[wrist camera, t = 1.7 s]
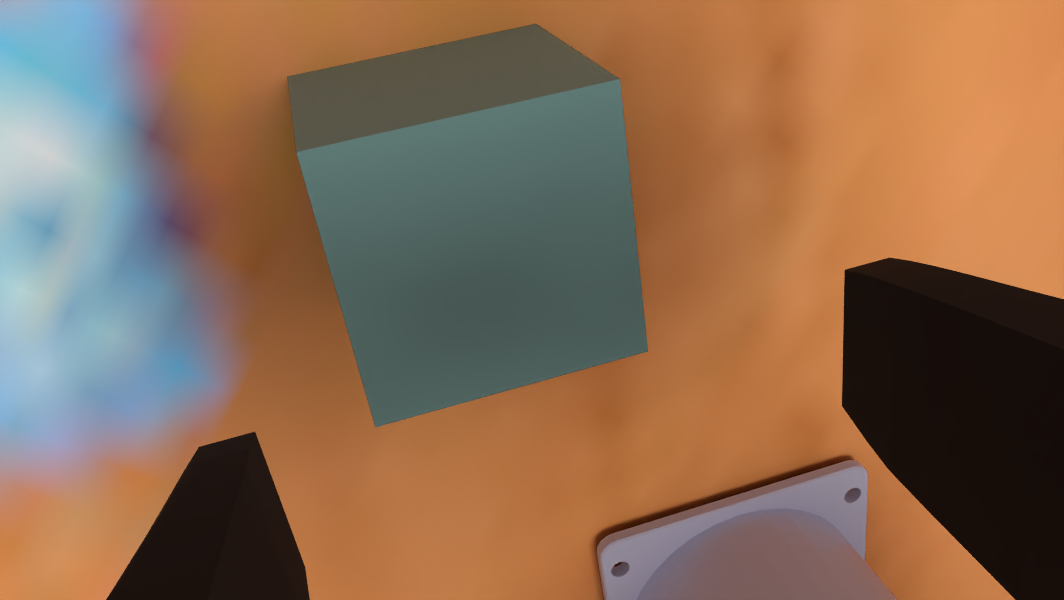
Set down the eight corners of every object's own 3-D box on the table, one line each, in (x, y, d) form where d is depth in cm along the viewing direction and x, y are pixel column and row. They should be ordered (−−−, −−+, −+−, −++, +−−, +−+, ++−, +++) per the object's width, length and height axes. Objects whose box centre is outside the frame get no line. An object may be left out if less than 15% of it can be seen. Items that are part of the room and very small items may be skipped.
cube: (566, 245, 21) (647, 351, 16) (350, 300, 20) (375, 427, 16) (534, 22, 18) (620, 78, 14) (287, 76, 18) (296, 151, 13)
